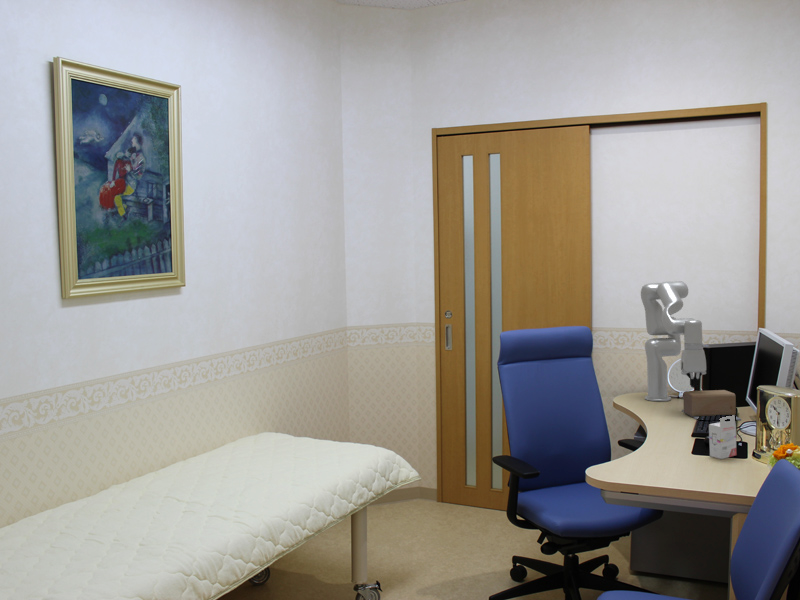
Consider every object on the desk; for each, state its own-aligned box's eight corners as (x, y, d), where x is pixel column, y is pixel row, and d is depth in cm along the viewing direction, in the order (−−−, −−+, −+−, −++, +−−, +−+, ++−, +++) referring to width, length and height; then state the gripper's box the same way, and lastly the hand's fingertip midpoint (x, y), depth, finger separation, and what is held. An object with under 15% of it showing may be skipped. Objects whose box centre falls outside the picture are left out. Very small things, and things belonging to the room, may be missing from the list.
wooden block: (691, 416, 300) (736, 415, 299) (691, 394, 299) (736, 393, 299) (682, 412, 310) (726, 411, 309) (682, 390, 309) (726, 389, 309)
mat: (681, 410, 315) (681, 409, 315) (720, 410, 314) (720, 408, 314) (699, 421, 293) (699, 419, 293) (741, 420, 292) (741, 419, 292)
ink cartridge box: (724, 452, 244) (723, 412, 243) (737, 455, 239) (736, 414, 239) (708, 456, 240) (708, 415, 239) (721, 459, 235) (720, 418, 235)
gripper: (707, 345, 306) (707, 385, 307) (673, 346, 307) (674, 386, 308) (713, 347, 299) (714, 388, 300) (679, 348, 300) (680, 389, 301)
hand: (694, 387), depth 304 cm, fingers closed
